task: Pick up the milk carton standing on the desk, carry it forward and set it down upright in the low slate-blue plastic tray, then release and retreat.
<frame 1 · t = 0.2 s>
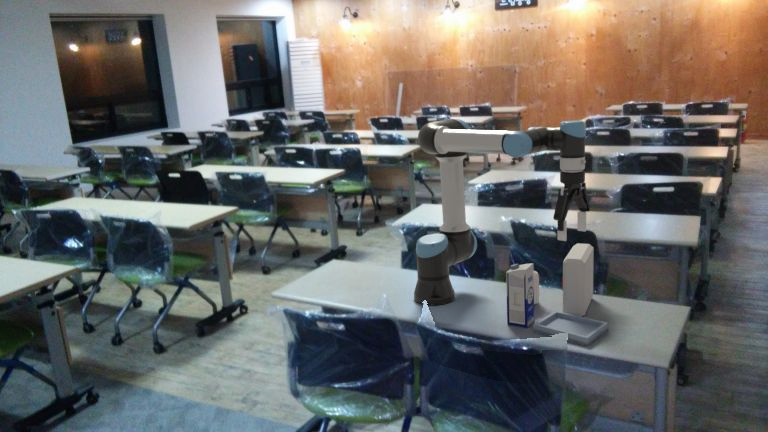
hand: (572, 235, 200), 28 cm above the table, fingers open, 13 cm apart
photo printer: (526, 305, 219), on the table
bevelled white case: (576, 307, 214), on the table
milk carton: (520, 323, 203), on the table
tray: (570, 331, 195), on the table
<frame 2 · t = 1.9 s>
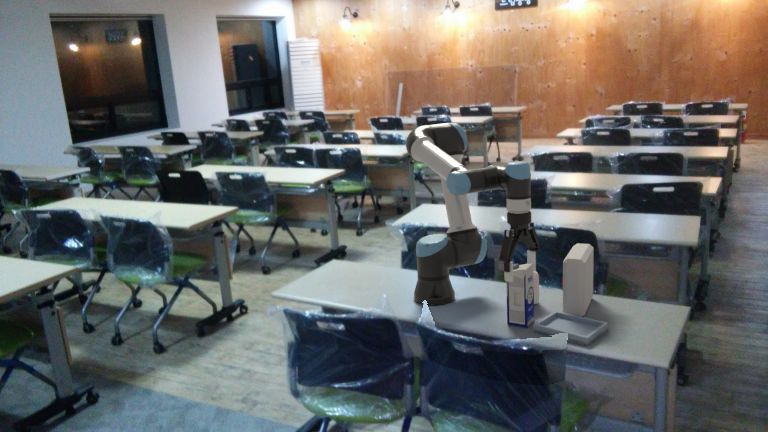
hand: (520, 275, 200), 16 cm above the table, fingers open, 13 cm apart
nothing on the table moved.
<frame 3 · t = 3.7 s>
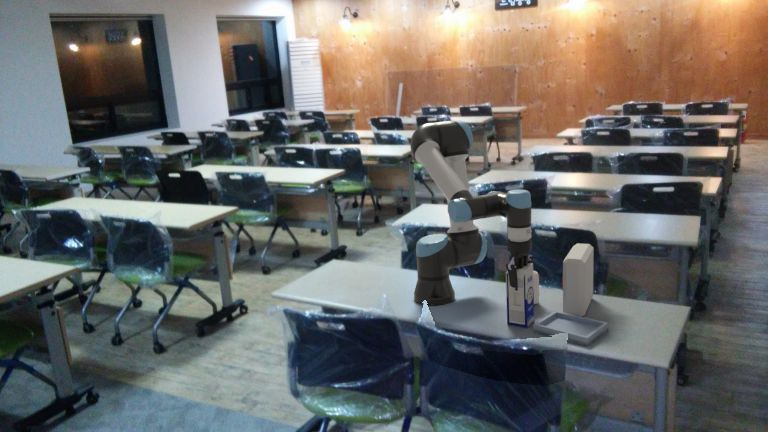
hand: (520, 308, 202), 5 cm above the table, fingers closed
milk carton: (520, 323, 203), on the table, touching hand
everything else where it was.
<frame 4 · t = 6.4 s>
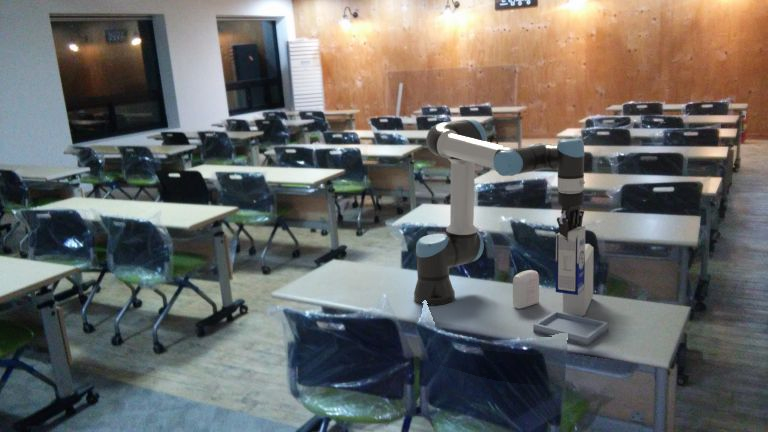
hand: (570, 267, 190), 21 cm above the table, fingers closed
milk carton: (570, 291, 190), point 14 cm above the table, touching hand
everything else where it was.
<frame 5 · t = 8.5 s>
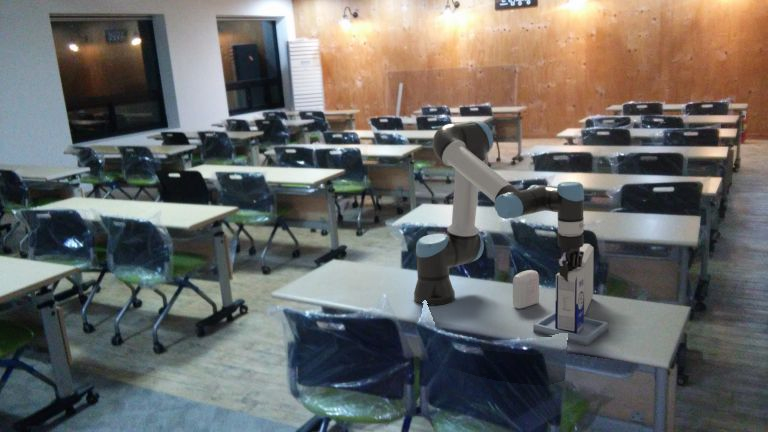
hand: (570, 306, 193), 8 cm above the table, fingers closed
milk carton: (569, 330, 193), point 1 cm above the table, touching tray
everything else where it was.
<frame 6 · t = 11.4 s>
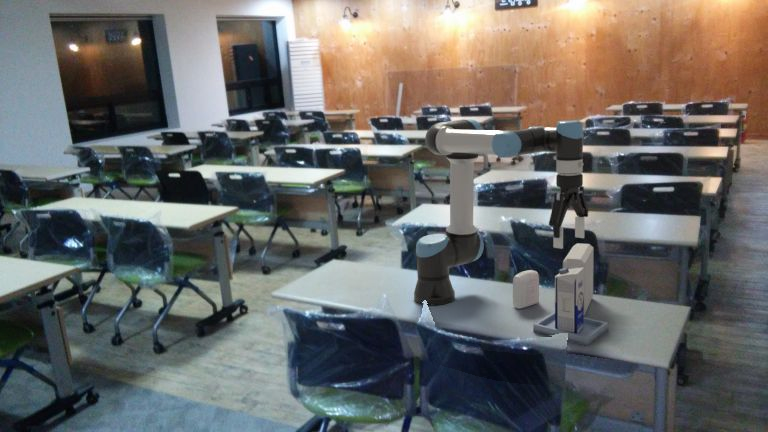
hand: (569, 242, 189), 29 cm above the table, fingers open, 13 cm apart
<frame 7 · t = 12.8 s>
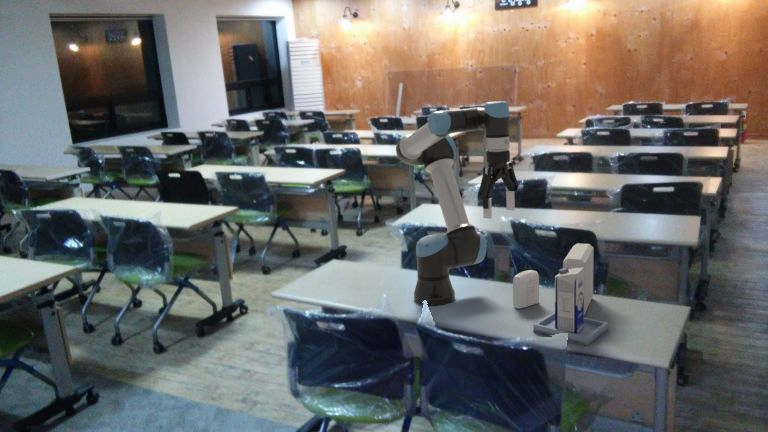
hand: (499, 214, 206), 35 cm above the table, fingers open, 13 cm apart
nothing on the table moved.
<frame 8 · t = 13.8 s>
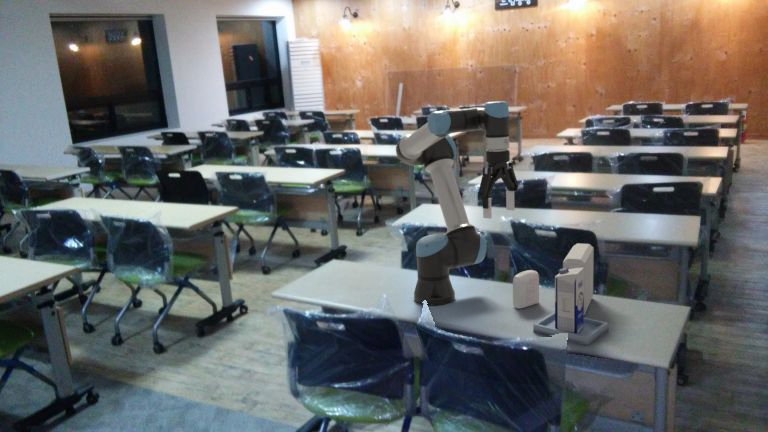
hand: (499, 214, 206), 35 cm above the table, fingers open, 13 cm apart
nothing on the table moved.
at the end: milk carton inside the target area on the tray (1.7 cm from its centre), point 0.8 cm above the tray's base; milk carton tilted 0°; the gripper is holding nothing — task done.
